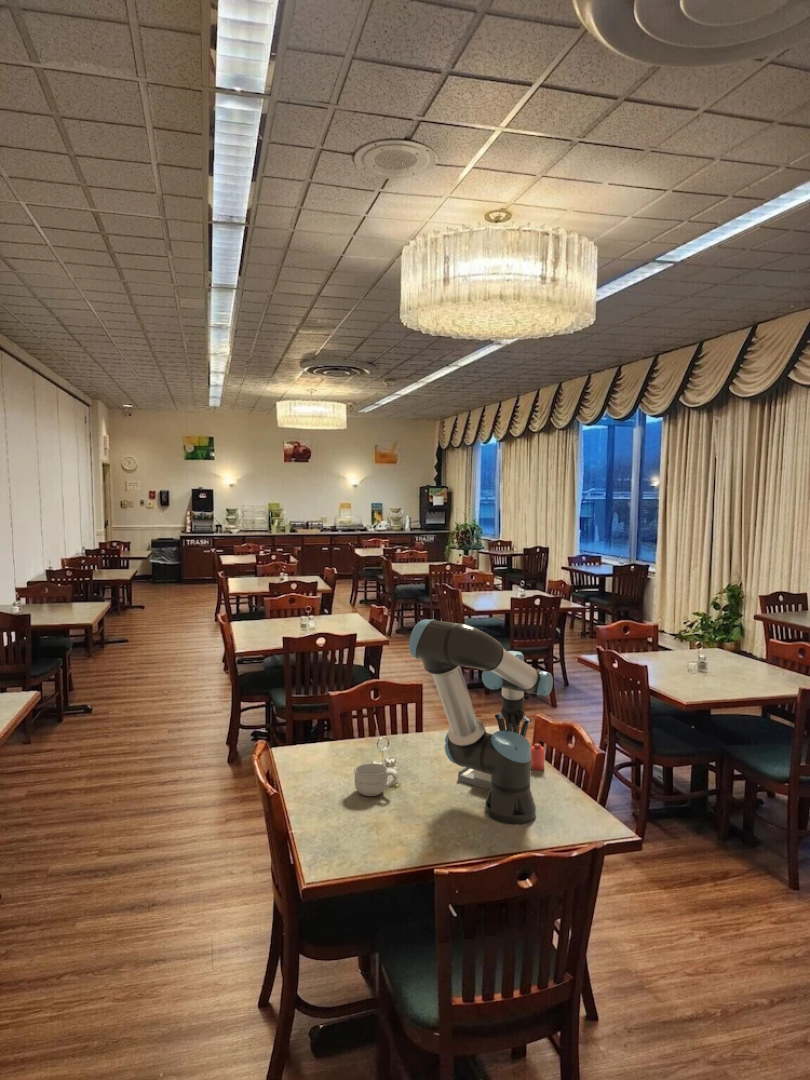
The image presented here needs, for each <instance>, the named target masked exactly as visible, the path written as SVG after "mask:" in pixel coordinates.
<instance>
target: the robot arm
mask: <svg viewBox="0 0 810 1080" xmlns="http://www.w3.org/2000/svg"><path fill="white" fill-rule="evenodd" d="M408 641H409V642H408V648H409V653H410V655H411V657H413V658H415V659H416V660H421V662H422V665H423V668H424V670H425V671H426V672H427V673H428V674H430V675H432V677H433V681H434V685H435V687H436V690H437V693H438V695H439V699H440V701H441V704H442V707H443V710H444V713H445V715H446V718H447V721H448V722H447V723H448V725H449V729H448V731H447V733H446V735H445V739H444V743H445V745H444V751H445V755H446V757H447V759H448V760H449V761H450V762H451V763H452V764H454V765H455V764H456V765H457V766H459V767H462V768H465V767H466V768H470V769H474V770H477V771H481V772H484V773H487V774H490V775H491V788H490V789H489V791H488V795H487V797H486V800H485V805H484V806H485V807H484V811H485V812H484V813H485V814H486V816H487V817H489V818H490V819H491V820H493V821H496V822H499V823H502V824H507V825H521V824H526V823H529V822H531V821H533V820H534V819H535V818H536V816H537V815H536V813H537V806H536V803H535V800H534V797H533V794H532V791H531V769H532V768H531V744H530V741H529V740H528V739H527V738H526V737H527V732H528V728H529V725H530V723H531V722H532V719H531V718H528V717H527V716H526V714H525V711H524V708H525V698H524V696H525V693H527V694H533V695H536V696H545V697H546V696H549V695H550V694H551V693H552V689H553V684H554V683H553V682H554V678H553V675H552V673H550V672H549V671H548V672H547V671H544V670H539V669H536V668H534V667H532V666H531V665H530V664H528V663H527V662H525V657H524V654H523V653H522V652H521V651H517V650H516V651H515V650H506V649H505V648H504V647H503V645H502V643H501V642H500V641H498V640H497V639H496V638H494V637H493V636H491V635H489V634H488V633H486V632H484V631H482V630H480V629H478V628H477V627H475V626H472V625H469V624H465V623H456V622H450V621H444V620H443V621H441V620H436V619H433V618H432V619H421V620H420V621H418V622H417V623H416V624H415V626H414V627H413V629H412V631H411V633H410V637H409V640H408ZM461 667H467V668H474V669H477V670H480V671H482V673H481V680H482V682H483V685H484V686H485V687H486V688H487V689H489V690H498V689H501V696H502V697H501V707H502V708H501V709H500V712H497V713H495V715H494V717H495V719H496V721H497V726H498V731H495V732H494V733H489V732H487V731H486V728H485V724H484V723H483V722H482V720H480V719H478V718H477V715H476V713H475V712H476V711H475V709H474V706H473V703H472V699H471V697H470V693H469V690H468V687H467V684H466V681H465V677H464V674H463V671H462V668H461ZM521 722H522V723H521ZM521 724H522V726H521V727H520V725H521Z"/></svg>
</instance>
